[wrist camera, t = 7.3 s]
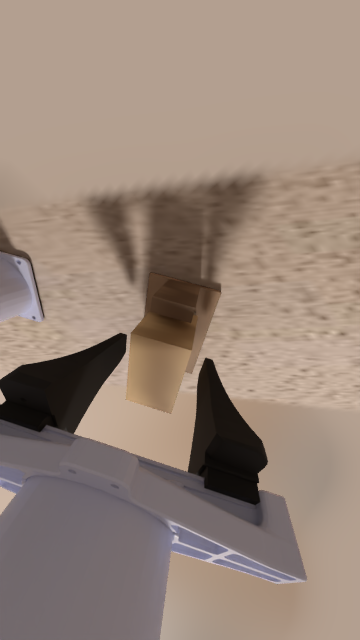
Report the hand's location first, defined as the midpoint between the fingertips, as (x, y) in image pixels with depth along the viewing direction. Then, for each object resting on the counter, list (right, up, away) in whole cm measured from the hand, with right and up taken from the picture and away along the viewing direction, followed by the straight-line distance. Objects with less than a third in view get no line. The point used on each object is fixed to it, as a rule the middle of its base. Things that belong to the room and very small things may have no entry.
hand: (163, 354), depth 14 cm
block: (0, +1, +2) cm, 2 cm away
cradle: (+1, +2, +4) cm, 5 cm away
